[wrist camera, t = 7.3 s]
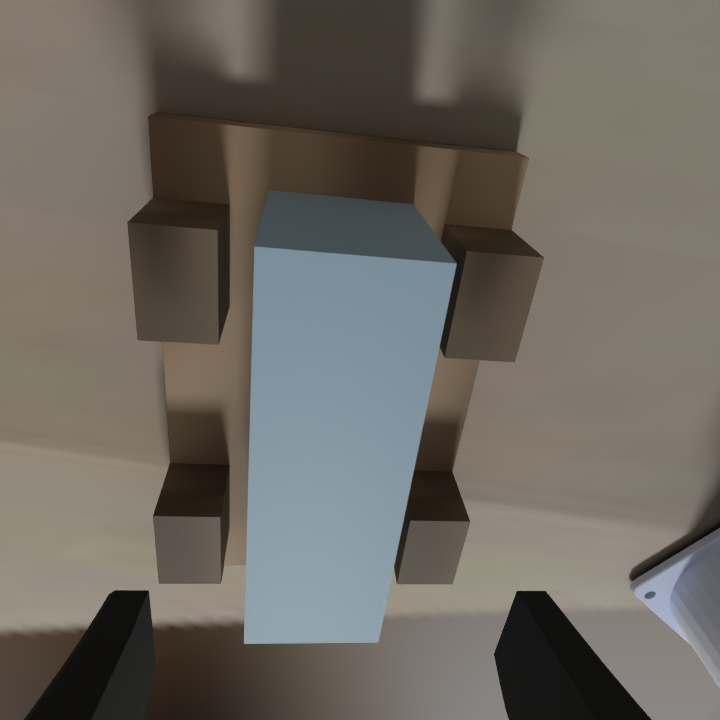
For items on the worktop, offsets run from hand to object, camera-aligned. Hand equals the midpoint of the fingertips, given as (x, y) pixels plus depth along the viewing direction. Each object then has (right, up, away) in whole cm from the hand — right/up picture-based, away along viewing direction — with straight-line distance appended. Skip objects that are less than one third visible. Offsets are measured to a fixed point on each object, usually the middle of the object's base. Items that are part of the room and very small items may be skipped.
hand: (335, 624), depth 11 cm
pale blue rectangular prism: (-1, +4, +7) cm, 8 cm away
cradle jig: (-1, +5, +8) cm, 9 cm away
